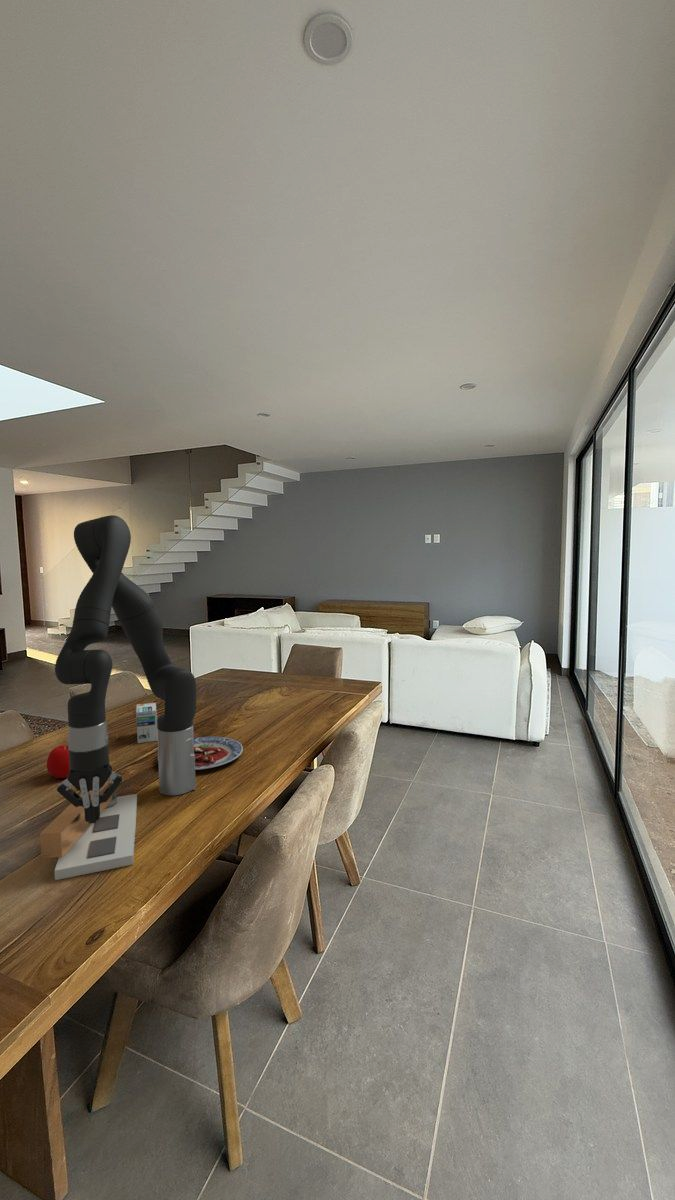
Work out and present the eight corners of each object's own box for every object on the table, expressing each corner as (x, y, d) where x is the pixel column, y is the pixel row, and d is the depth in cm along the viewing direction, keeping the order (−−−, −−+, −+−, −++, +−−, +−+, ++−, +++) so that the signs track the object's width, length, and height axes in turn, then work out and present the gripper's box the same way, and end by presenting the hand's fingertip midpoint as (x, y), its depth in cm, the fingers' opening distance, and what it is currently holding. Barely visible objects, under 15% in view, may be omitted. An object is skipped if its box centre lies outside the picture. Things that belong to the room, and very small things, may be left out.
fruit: (88, 774, 142) (86, 741, 141) (53, 785, 135) (51, 750, 134) (75, 765, 148) (74, 733, 147) (42, 775, 141) (40, 742, 140)
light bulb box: (158, 741, 168) (157, 710, 167) (137, 744, 165) (135, 712, 165) (157, 731, 178) (156, 702, 177) (137, 733, 175) (136, 704, 174)
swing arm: (118, 793, 123) (117, 774, 122) (63, 857, 97) (61, 832, 96) (100, 794, 123) (99, 774, 122) (40, 857, 97) (39, 833, 96)
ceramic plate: (221, 780, 139) (221, 769, 139) (140, 772, 144) (139, 762, 144) (255, 745, 164) (254, 737, 164) (184, 740, 169) (184, 732, 169)
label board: (137, 801, 126) (136, 790, 126) (133, 864, 100) (132, 850, 100) (76, 811, 121) (75, 799, 121) (55, 880, 95) (54, 865, 95)
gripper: (123, 733, 109) (127, 807, 111) (56, 741, 105) (60, 819, 106) (121, 745, 102) (125, 824, 104) (49, 754, 98) (54, 837, 99)
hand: (92, 821), depth 105 cm, fingers closed
